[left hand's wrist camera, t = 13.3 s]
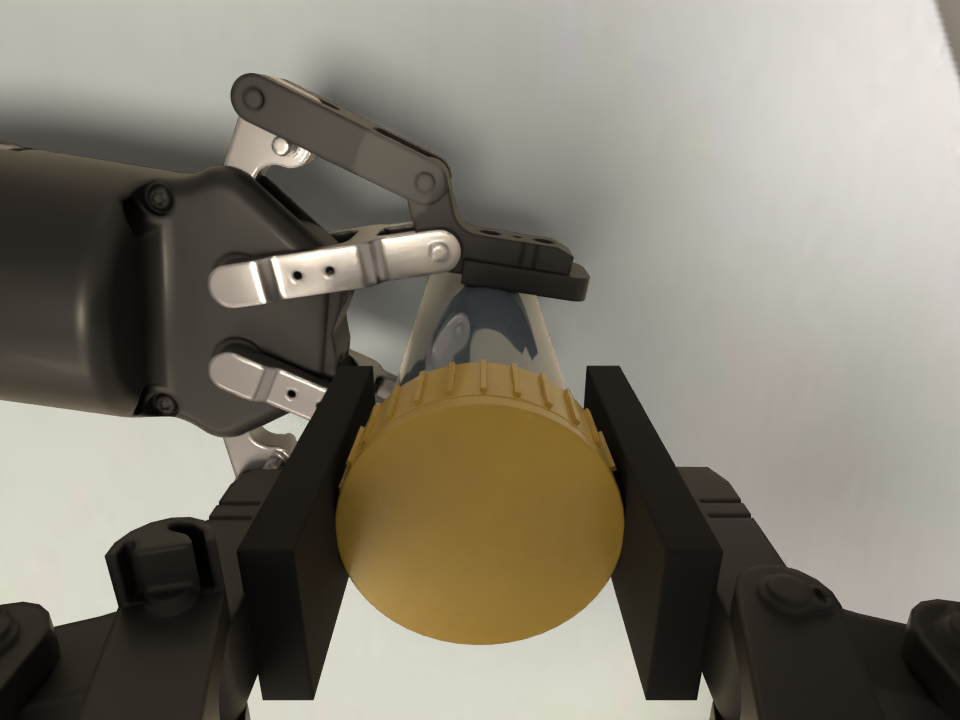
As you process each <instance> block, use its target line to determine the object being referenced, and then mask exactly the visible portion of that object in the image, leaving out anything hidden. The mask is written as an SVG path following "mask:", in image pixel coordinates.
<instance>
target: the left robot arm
mask: <svg viewBox="0 0 960 720" xmlns="http://www.w3.org/2000/svg"><path fill="white" fill-rule="evenodd" d="M375 404H376V403H375V389H374V374H373V366H340V367H339V369H338V371H337V373H336V374H335V376H334V378H333V380H332V382H331V383H330V385H329V387H328V389H327V390H326V392H325V394H324V396H323V398H322V399H321V401H320V403H319V405H318V406H317V408H316V410H315V412H314V414H313V415H312V417H311V419H310V421H309V423H308V424H307V426H306V428H305V430H304V431H303V433H302V435H301V437H300V439H299V440H298V442H297V444H296V446H295V447H294V449H293V451H292V453H291V455H290V456H289V458H288V460H287V462H286V463H285V465H284V467H283V469H252V470H250V471H249V472H247V473H246V474H245V475H243V476H242V477H240V478H239V479H238V480H236V481H235V482H233V483H232V484H231V485H230V486H229V488H228V489H227V491H226V492H225V494H224V495H223V497H222V498H221V500H220V501H219V505H217V506H216V507H215V508H214V510H213V511H212V513H211V514H210V516H209V520H206V521H204V520H200V519H196V518H192V517H177V518H168V519H164V520H160V521H155V522H151V523H149V524H146V525H144V526H142V527H140V528H137V529H135V530H133V531H131V532H129V533H128V534H126V535H125V536H124V537H122V538H121V539H119V540H118V541H117V542H115V543H114V544H113V546H112V547H111V548H110V550H109V551H108V552H107V553H106V555H105V559H106V563H107V567H108V570H109V574H110V577H111V581H112V585H113V588H114V592H115V596H116V599H117V603H118V606H119V607H118V609H117V612H113V613H110V614H107V615H103V616H100V617H95V618H91V619H86V620H82V621H78V622H73V623H69V624H64V625H60V626H56V627H53V624H52V621H51V617H50V614H49V612H48V611H47V610H46V609H44V608H43V607H42V606H41V605H40V604H34V603H28V602H17V603H10V604H3V605H0V720H250V714H249V709H248V703H247V700H248V698H249V695H250V693H251V690H252V688H253V685H254V683H255V680H256V678H257V675H258V676H259V681H260V687H261V693H262V698H263V700H314V697H315V693H316V690H317V686H318V683H319V679H320V676H321V672H322V669H323V665H324V662H325V658H326V655H327V651H328V648H329V644H330V641H331V637H332V634H333V630H334V627H335V623H336V620H337V616H338V613H339V609H340V606H341V602H342V599H343V595H344V592H345V588H346V585H347V581H348V578H349V575H348V573H347V571H346V569H345V567H344V565H343V563H342V560H341V557H340V554H339V550H338V546H337V537H336V527H335V511H336V506H337V501H338V496H339V493H340V492H339V485H340V482H341V479H342V477H343V474H344V471H345V469H346V466H347V465H346V461H347V459H348V456H349V454H350V451H351V449H352V446H353V443H354V441H355V438H356V436H357V433H358V431H359V428H360V426H362V427H365V426H366V424H367V422H368V420H369V417H370V415H371V412H372V409H373V407H374V406H375ZM586 408H588V409H589V411H590V412H591V415H592V418H593V420H594V423H595V426H596V428H597V431H598V432H600V431H602V433H603V435H604V438H605V440H606V443H607V445H608V448H609V451H610V453H611V456H612V458H613V461H614V463H615V466H616V469H617V470H616V471H613V474H614V477H615V479H616V482H617V485H618V487H619V490H620V493H621V497H622V502H623V506H624V514H625V523H624V533H623V543H622V550H621V554H620V557H619V560H618V562H617V565H616V567H615V569H614V571H613V573H612V575H611V579H612V582H613V586H614V589H615V593H616V596H617V600H618V603H619V607H620V610H621V614H622V617H623V621H624V624H625V628H626V631H627V635H628V638H629V642H630V645H631V649H632V652H633V656H634V660H635V663H636V667H637V670H638V674H639V677H640V681H641V684H642V688H643V691H644V695H645V698H646V700H697V696H698V691H699V685H700V679H701V674H702V673H703V675H704V678H705V680H706V683H707V685H708V688H709V690H710V693H711V695H712V698H713V703H712V708H711V714H710V719H709V720H960V602H955V601H948V600H940V599H935V600H929V601H922V602H920V603H919V604H918V605H916V606H915V607H914V608H913V609H912V610H911V613H910V616H909V619H908V622H907V624H903V623H898V622H894V621H889V620H885V619H880V618H876V617H872V616H867V615H863V614H859V613H855V612H852V611H849V610H845V609H843V608H842V606H841V604H840V603H839V601H838V600H837V598H836V597H835V595H834V594H833V592H832V591H830V590H829V589H828V588H827V587H825V586H824V585H823V584H822V583H821V582H819V581H818V580H817V579H815V578H813V577H811V576H809V575H807V574H805V573H803V572H801V571H799V570H796V569H792V568H788V567H787V566H786V565H785V564H784V562H783V561H782V559H781V558H780V556H779V555H778V553H777V552H776V550H775V549H774V547H773V546H772V544H771V543H770V542H769V540H768V539H767V537H766V536H765V534H764V533H763V531H762V530H761V528H760V527H759V525H758V524H757V523H756V521H755V520H754V518H751V514H750V512H749V511H748V509H747V508H746V506H745V505H744V504H743V503H741V499H740V498H739V496H738V495H737V493H736V492H735V490H734V489H733V487H732V486H731V484H730V483H729V482H728V481H727V480H725V479H724V478H722V477H721V476H720V475H718V474H717V473H715V472H714V471H713V470H711V469H710V468H708V467H676V466H675V464H674V462H673V461H672V459H671V457H670V455H669V453H668V452H667V450H666V448H665V446H664V445H663V443H662V441H661V439H660V437H659V436H658V434H657V432H656V430H655V429H654V427H653V425H652V423H651V421H650V420H649V418H648V416H647V414H646V412H645V411H644V409H643V407H642V405H641V404H640V402H639V400H638V398H637V396H636V395H635V393H634V391H633V389H632V388H631V386H630V384H629V382H628V380H627V379H626V377H625V375H624V373H623V372H622V370H621V368H620V366H587V369H586V384H585V398H584V410H585V409H586Z"/></svg>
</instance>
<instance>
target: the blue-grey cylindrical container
mask: <svg viewBox="0 0 960 720" xmlns="http://www.w3.org/2000/svg"><path fill="white" fill-rule="evenodd" d="M461 276H462V274H455V273H449V272H444V273H438V274H431V275H430V276H429V279H428V282H427V285H426V288H425V292H424V295H423V298H422V301H421V304H420V307H419V310H418V314H417V317H416V320H415V323H414V326H413V329H412V332H411V335H410V339H409V342H408V345H407V348H406V351H405V354H404V357H403V361H402V364H401V367H400V370H399V373H398V376H397V379H396V383H395V386H396V385H399V386H400V387H401V386H402V385H404V384H406V383H407V382H409V381H411V380H413V379H414V378H416V377H418V376H419V373H420V372H421V371H424V370H425V371H426V373H427V372H430V371H432V370H435V369H439V368H443V367H446V366H449V363H450V362H455V365H456V364H463V363H480V360H486V363H496V364H505V365H509V366H511V364H512V363H514V364H517V366H518V368H522V369H524V370H527V371H530V372H533V373H535V374H538V375H540V374H541V373H543V374H545V375H546V377H547V380H549V381H551V382H553V383H554V384H556V385H557V386H559V387H560V388H562V389H563V390H565V389H566V386H565V383H564V380H563V377H562V374H561V371H560V368H559V364H558V361H557V358H556V355H555V352H554V349H553V346H552V343H551V339H550V336H549V333H548V330H547V327H546V324H545V321H544V318H543V314H542V311H541V308H540V305H539V302H538V299H537V296H536V295H529V294H523V293H516V292H510V291H503V290H498V289H493V288H485V287H477V286H471V285H464V284H461ZM395 386H394V387H395Z"/></svg>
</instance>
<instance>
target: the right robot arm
mask: <svg viewBox="0 0 960 720" xmlns="http://www.w3.org/2000/svg"><path fill="white" fill-rule="evenodd" d="M231 102H232V105H233V108H234V110H235V111H236V113H237V114H238V115H239V117H238V120H237V124H236V127H235V130H234V133H233V136H232V139H231V143H230V146H229V149H228V152H227V155H226V159H225V162H224V165H220V166H212V167H209V168H206V169H204V170H201V171H199V172H197V173H181V172H174V171H168V170H162V169H155V168H149V167H143V166H137V165H131V164H124V163H118V162H112V161H106V160H99V159H93V158H87V157H81V156H75V155H68V154H62V153H55V152H49V151H43V150H37V149H31V148H25V147H19V146H18V145H16V144H14V143H10V142H7V141H3V140H0V400H5V401H12V402H19V403H27V404H35V405H42V406H49V407H56V408H63V409H71V410H78V411H85V412H92V413H99V414H106V415H113V416H120V417H159V416H170V417H177V418H180V419H183V420H186V421H188V422H190V423H192V424H194V425H196V426H198V427H199V428H201V429H202V430H204V431H205V432H207V433H209V434H211V435H214V436H217V437H223V439H224V442H225V445H226V448H227V451H228V454H229V457H230V460H231V464H232V467H233V470H234V473H235V476H236V479H235V481H236V480H238V479H239V478H240V477H242V476H243V475H245V474H246V473H247V472H249V471H250V470H252V469H283V467H284V465H285V463H286V462H287V460H288V458H289V456H290V455H291V453H292V451H293V449H294V447H295V446H296V444H297V441H296V437H295V436H294V435H293V434H291V433H286V434H275V433H271V432H269V431H267V430H266V429H265V428H263V427H262V426H263V425H265V424H267V423H269V422H271V421H273V420H275V419H277V418H280V417H282V416H284V415H286V414H288V413H292V414H294V415H297V416H299V417H302V418H304V419H306V420H309V421H310V419H311V417H312V415H313V414H314V412H315V410H316V408H317V406H318V405H319V403H320V401H321V399H322V398H323V396H324V394H325V392H326V390H327V389H328V387H329V385H330V383H331V382H332V380H333V378H334V376H335V374H336V373H337V371H338V369H339V367H340V366H373V374H374V389H375V403H377V404H378V405H381V403H382V402H383V401H384V400H385V399H386V398H387V397H388V396H389V395H391V394H392V392H393V389H394V386H395V383H396V379H397V376H395V375H393V374H391V373H389V372H387V371H385V370H384V369H383V368H382V367H381V365H380V364H379V363H378V362H376V361H375V360H373V359H371V358H369V357H367V356H365V355H362V354H360V353H358V352H355V351H353V350H351V349H349V347H350V333H349V327H348V322H347V317H346V312H347V309H348V307H349V304H350V301H351V299H352V296H353V294H354V289H360V288H366V287H371V286H374V285H377V284H379V283H381V282H384V281H389V280H395V279H402V278H410V277H417V276H424V275H431V274H438V273H444V272H449V273H455V274H462V276H461V284H464V285H471V286H477V287H485V288H493V289H498V290H503V291H510V292H516V293H523V294H529V295H536V296H542V297H549V298H555V299H562V300H568V301H584V300H585V297H586V292H587V288H588V283H589V279H590V276H589V275H588V273H587V272H586V270H585V269H584V268H583V266H581V265H579V264H576V263H573V258H574V257H573V255H572V254H571V253H570V251H569V250H568V248H567V247H565V246H564V245H562V244H560V243H559V242H557V241H556V240H554V239H551V238H545V237H539V236H532V235H526V234H519V233H514V232H507V231H501V230H495V229H488V228H482V227H477V226H473V225H471V224H469V223H467V222H466V221H465V220H464V219H463V218H462V217H461V216H460V214H459V213H458V210H457V207H456V203H455V198H454V194H453V189H452V184H451V169H450V167H449V165H448V163H447V162H446V161H445V160H444V159H443V158H442V157H440V156H438V155H436V154H434V153H432V152H430V151H428V150H426V149H424V148H422V147H420V146H418V145H416V144H414V143H412V142H410V141H408V140H406V139H404V138H402V137H400V136H398V135H396V134H394V133H392V132H390V131H388V130H386V129H384V128H382V127H380V126H378V125H376V124H374V123H372V122H370V121H368V120H366V119H364V118H362V117H360V116H358V115H356V114H354V113H352V112H350V111H348V110H346V109H344V108H342V107H340V106H338V105H336V104H334V103H332V102H330V101H328V100H326V99H324V98H322V97H320V96H318V95H316V94H314V93H312V92H310V91H308V90H306V89H304V88H302V87H300V86H298V85H296V84H294V83H292V82H290V81H288V80H285V79H280V78H276V77H272V76H267V75H260V74H255V73H248V74H244V75H242V76H240V77H239V78H238V79H236V81H235V82H234V84H233V86H232V89H231ZM316 156H319V157H321V158H323V159H325V160H327V161H329V162H331V163H333V164H335V165H337V166H339V167H341V168H344V169H346V170H348V171H350V172H352V173H354V174H356V175H358V176H360V177H362V178H364V179H366V180H368V181H370V182H372V183H375V184H377V185H379V186H381V187H383V188H385V189H387V190H389V191H391V192H393V193H395V194H397V195H399V196H401V197H403V198H406V199H407V200H408V204H409V208H410V213H411V217H412V221H411V222H405V223H398V224H390V225H386V224H376V225H369V226H362V227H355V228H348V229H341V230H334V231H325V230H324V229H323V228H322V227H321V226H320V225H319V224H318V223H317V222H316V221H315V220H314V219H312V218H311V217H310V216H309V215H308V214H307V213H306V212H305V211H304V210H303V209H302V208H300V207H299V206H298V205H297V204H296V203H295V202H294V201H293V200H292V199H291V198H290V197H289V196H287V195H286V194H285V193H284V192H283V191H282V190H281V189H280V188H279V187H278V186H277V185H276V184H274V183H273V182H272V181H271V180H270V179H269V178H268V177H267V176H266V174H267V172H268V170H269V169H270V168H271V167H272V166H274V165H279V166H283V167H286V168H296V167H300V166H304V165H307V164H309V163H311V162H312V161H313V160H314V159H315V157H316ZM235 481H234V482H235Z"/></svg>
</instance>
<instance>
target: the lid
mask: <svg viewBox="0 0 960 720" xmlns="http://www.w3.org/2000/svg"><path fill="white" fill-rule="evenodd" d="M346 465H347V466H346V469H345V471H344V474H343V477H342V479H341V482H340V485H339V492H340V493H339V496H338V501H337V506H336V511H335V527H336V537H337V546H338V550H339V554H340V557H341V560H342V563H343V565H344V567H345V569H346V571H347V573H348V575H349V577H350V578H351V580H352V582H353V583H354V585H355V586H356V588H357V589H358V590H359V591H360V593H361V594H362V595H363V596H364V597H365V598H366V600H367V601H368V602H370V603H371V604H372V605H373V606H374V607H375V608H376V609H377V610H378V611H380V612H381V613H382V614H384V615H385V616H387V617H388V618H389V619H391V620H392V621H394V622H396V623H398V624H399V625H401V626H403V627H405V628H407V629H409V630H411V631H414V632H416V633H419V634H421V635H423V636H427V637H430V638H434V639H437V640H441V641H446V642H452V643H457V644H469V645H493V644H501V643H509V642H514V641H518V640H523V639H527V638H530V637H533V636H536V635H539V634H542V633H544V632H546V631H548V630H551V629H553V628H555V627H557V626H559V625H561V624H562V623H564V622H566V621H567V620H569V619H571V618H572V617H574V616H575V615H576V614H577V613H579V612H580V611H581V610H583V609H584V608H585V607H586V606H587V605H588V604H589V603H590V602H591V601H592V600H593V599H594V598H595V597H596V596H597V595H598V594H599V592H600V591H601V590H602V589H603V587H604V586H605V585H606V583H607V582H608V580H609V578H610V577H611V575H612V573H613V571H614V569H615V567H616V565H617V562H618V560H619V557H620V554H621V550H622V543H623V533H624V523H625V514H624V506H623V502H622V497H621V493H620V490H619V487H618V485H617V482H616V479H615V477H614V474H613V471H616V470H617V469H616V466H615V463H614V461H613V458H612V456H611V453H610V451H609V448H608V445H607V443H606V440H605V438H604V435H603V433H602V431H600V432H598V431H597V428H596V426H595V423H594V420H593V418H592V415H591V412H590V411H589V409H588V408H586V409H585V410H584V409H583V408H582V407H581V406H580V405H579V403H578V402H577V401H576V400H575V399H573V396H572V393H571V391H570V390H569V389H568V388H566V389H565V390H563V389H562V388H560V387H559V386H557V385H556V384H554V383H553V382H551V381H549V380H547V377H546V375H545V374H543V373H541V374H540V375H538V374H535V373H533V372H530V371H527V370H524V369H522V368H518V366H517V364H514V363H512V364H511V366H509V365H505V364H496V363H486V360H480V363H463V364H456V365H455V362H450V363H449V366H446V367H443V368H439V369H435V370H432V371H430V372H427V373H426V371H425V370H424V371H421V372H420V373H419V376H418V377H416V378H414V379H413V380H411V381H409V382H407V383H406V384H404V385H402V386H401V387H400V386H399V385H396V386H395V387H394V389H393V392H392V394H391V395H389V396H388V397H387V398H386V399H385V400H384V401H383V402H382V403H381V405H378V404H377V403H376V404H375V406H374V407H373V409H372V412H371V415H370V417H369V420H368V422H367V424H366V426H365V427H362V426H360V428H359V431H358V433H357V436H356V438H355V441H354V443H353V446H352V449H351V451H350V454H349V456H348V459H347V461H346Z"/></svg>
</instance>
